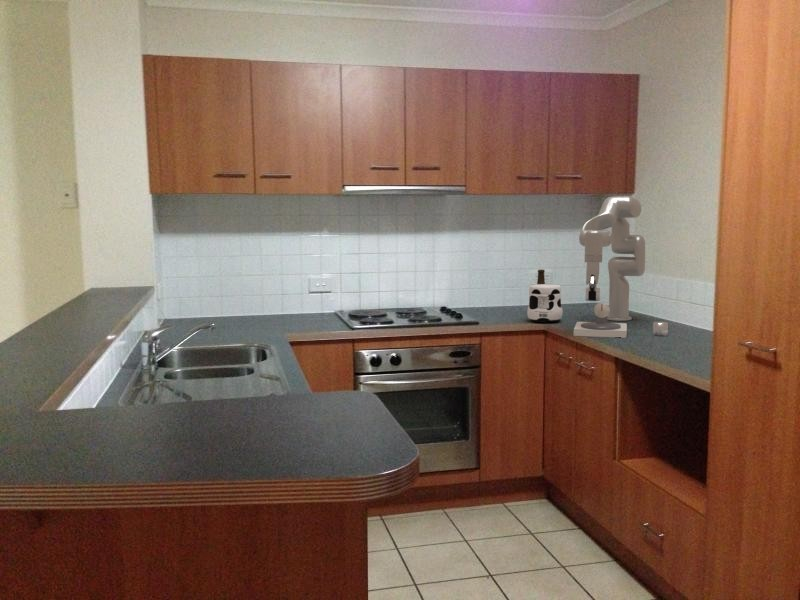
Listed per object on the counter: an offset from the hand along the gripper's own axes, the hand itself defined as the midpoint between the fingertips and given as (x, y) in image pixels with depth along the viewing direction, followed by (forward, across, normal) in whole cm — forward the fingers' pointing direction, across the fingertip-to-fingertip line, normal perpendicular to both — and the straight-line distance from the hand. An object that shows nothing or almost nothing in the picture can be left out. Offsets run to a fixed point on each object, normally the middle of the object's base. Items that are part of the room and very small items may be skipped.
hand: (592, 299), depth 303 cm
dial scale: (+15, -2, +4) cm, 16 cm away
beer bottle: (+15, -55, -29) cm, 64 cm away
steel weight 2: (+15, -2, +29) cm, 33 cm away
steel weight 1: (+1, 0, 0) cm, 1 cm away
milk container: (+16, -30, -24) cm, 42 cm away
